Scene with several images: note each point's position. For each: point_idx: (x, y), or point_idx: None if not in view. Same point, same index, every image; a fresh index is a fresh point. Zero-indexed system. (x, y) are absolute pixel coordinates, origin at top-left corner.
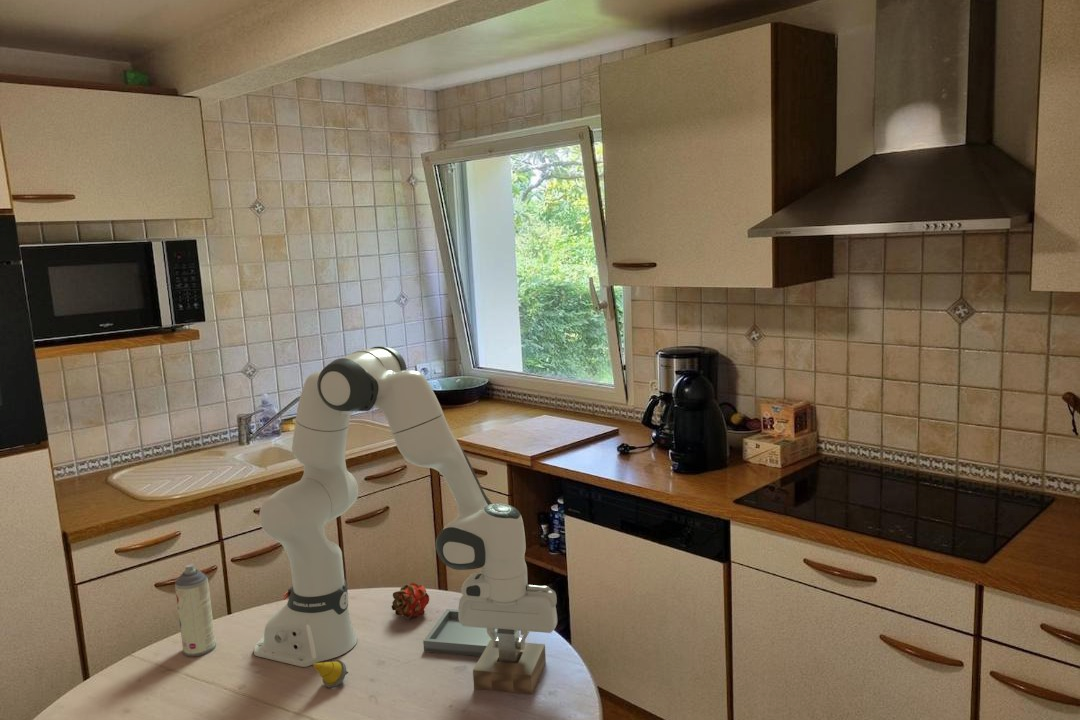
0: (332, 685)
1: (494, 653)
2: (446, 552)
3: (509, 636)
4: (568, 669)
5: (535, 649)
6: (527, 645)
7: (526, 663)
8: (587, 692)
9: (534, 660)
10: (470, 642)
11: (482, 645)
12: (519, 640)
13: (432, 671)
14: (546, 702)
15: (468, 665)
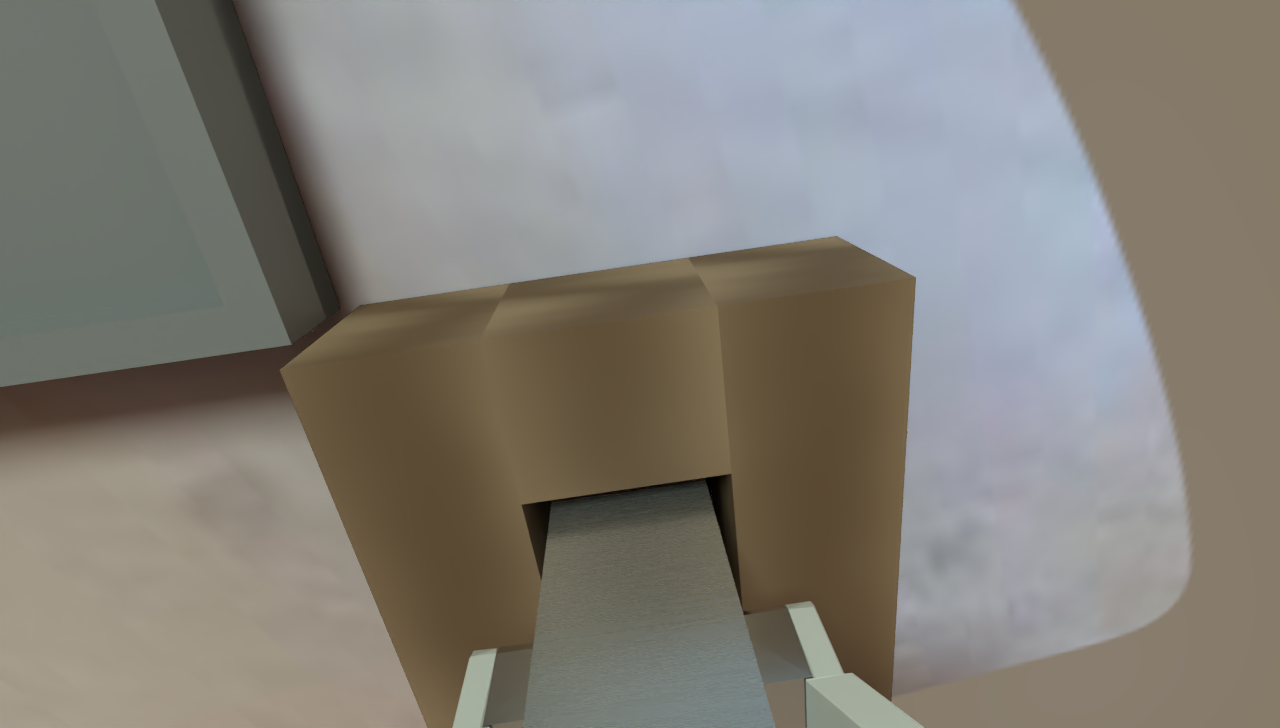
0: None
1: (478, 567)
2: None
3: None
4: (1034, 285)
5: (838, 402)
6: (732, 355)
7: (816, 609)
8: (1168, 490)
9: (872, 556)
10: (60, 333)
11: (223, 349)
12: (791, 724)
13: (84, 589)
14: (933, 629)
15: (265, 459)
